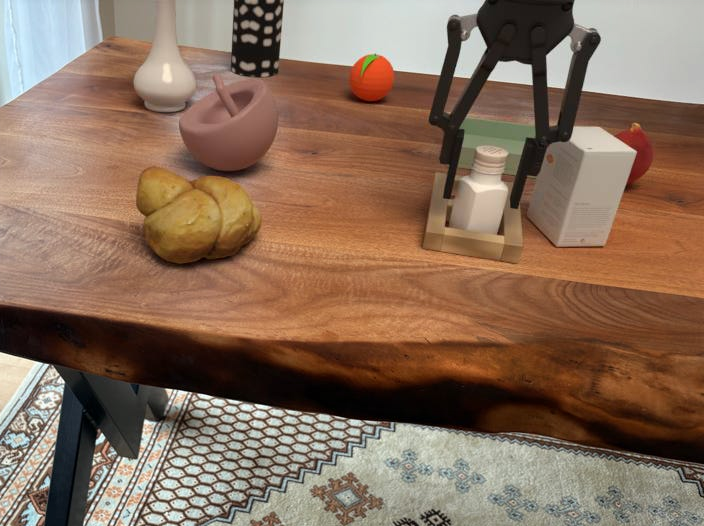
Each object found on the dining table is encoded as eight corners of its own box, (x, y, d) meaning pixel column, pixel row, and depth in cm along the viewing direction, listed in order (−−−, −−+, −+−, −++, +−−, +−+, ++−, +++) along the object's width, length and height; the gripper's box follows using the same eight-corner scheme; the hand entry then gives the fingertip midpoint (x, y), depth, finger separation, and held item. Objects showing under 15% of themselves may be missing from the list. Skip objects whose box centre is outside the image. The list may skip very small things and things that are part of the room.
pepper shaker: (478, 227, 85) (499, 142, 79) (496, 243, 81) (520, 156, 76) (445, 230, 84) (464, 144, 78) (462, 246, 81) (484, 158, 75)
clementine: (377, 111, 118) (385, 63, 114) (336, 102, 121) (342, 55, 116) (396, 99, 123) (404, 53, 119) (357, 91, 126) (363, 45, 122)
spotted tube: (243, 78, 130) (250, -55, 118) (223, 66, 136) (228, -63, 124) (286, 75, 133) (297, -56, 121) (265, 62, 139) (273, -63, 127)
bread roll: (245, 221, 83) (250, 149, 79) (282, 261, 76) (289, 184, 72) (130, 235, 79) (128, 160, 75) (157, 279, 72) (156, 199, 68)
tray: (561, 148, 107) (567, 129, 105) (568, 183, 97) (575, 161, 95) (450, 134, 110) (454, 115, 109) (445, 166, 100) (450, 145, 98)
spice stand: (514, 199, 92) (518, 183, 90) (518, 264, 78) (523, 246, 77) (432, 187, 94) (435, 171, 92) (422, 248, 80) (426, 231, 79)
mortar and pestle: (171, 152, 100) (171, 60, 93) (260, 149, 102) (267, 59, 95) (187, 188, 90) (188, 89, 84) (285, 184, 92) (294, 87, 86)
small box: (605, 248, 82) (639, 151, 76) (554, 248, 81) (585, 151, 75) (571, 216, 88) (600, 125, 82) (524, 216, 88) (550, 124, 82)
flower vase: (239, 116, 113) (250, -78, 99) (114, 122, 108) (106, -81, 94) (216, 91, 123) (223, -89, 109) (101, 95, 119) (92, -92, 104)
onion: (623, 177, 99) (645, 115, 94) (650, 195, 94) (675, 130, 90) (582, 178, 98) (602, 115, 94) (608, 196, 93) (630, 131, 89)
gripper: (428, -55, 66) (384, 198, 79) (667, -36, 62) (579, 227, 75) (433, -64, 72) (392, 173, 85) (652, -47, 68) (573, 198, 81)
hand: (480, 198), depth 80 cm, fingers open, 6 cm apart
